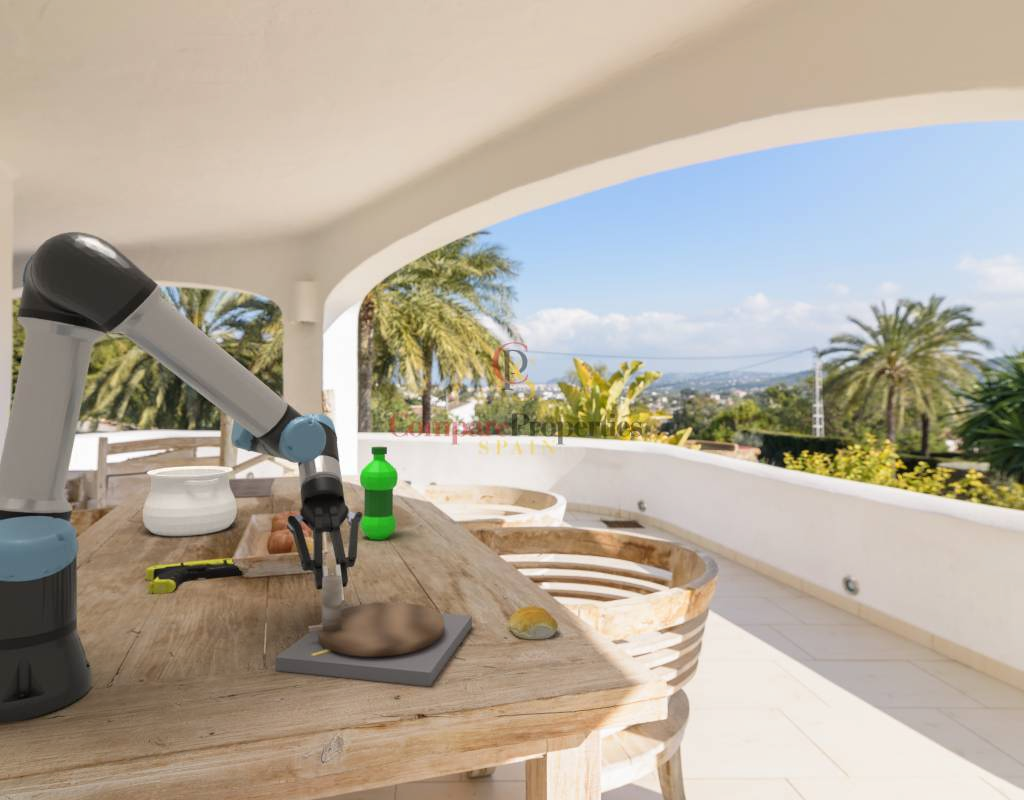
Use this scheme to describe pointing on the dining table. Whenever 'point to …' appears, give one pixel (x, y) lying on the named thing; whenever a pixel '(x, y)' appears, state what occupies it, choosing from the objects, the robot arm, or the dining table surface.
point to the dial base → (377, 658)
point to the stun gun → (187, 573)
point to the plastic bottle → (378, 496)
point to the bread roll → (532, 623)
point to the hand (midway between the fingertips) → (334, 604)
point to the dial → (374, 625)
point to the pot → (189, 501)
